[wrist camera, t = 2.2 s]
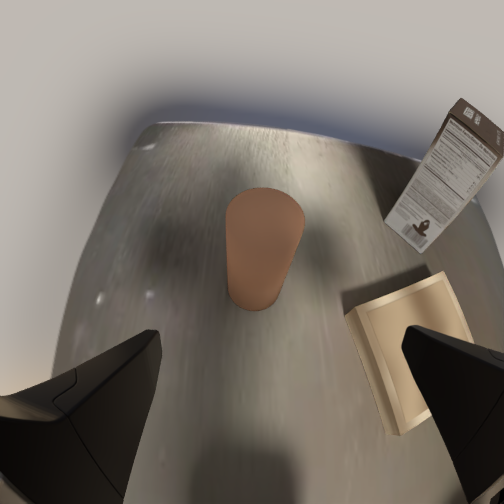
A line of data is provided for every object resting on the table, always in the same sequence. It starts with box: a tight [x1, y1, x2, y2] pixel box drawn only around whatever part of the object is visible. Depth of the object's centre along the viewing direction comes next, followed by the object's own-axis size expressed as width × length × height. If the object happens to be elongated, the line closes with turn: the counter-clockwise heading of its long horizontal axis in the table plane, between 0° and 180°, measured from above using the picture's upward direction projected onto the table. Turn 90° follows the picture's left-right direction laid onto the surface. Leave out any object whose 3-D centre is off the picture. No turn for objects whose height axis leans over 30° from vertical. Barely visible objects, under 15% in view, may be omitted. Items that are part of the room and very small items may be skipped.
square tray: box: [344, 271, 474, 436], centre depth 21 cm, size 12×12×2 cm
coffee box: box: [384, 98, 504, 254], centre depth 23 cm, size 9×6×16 cm
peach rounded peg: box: [226, 188, 305, 311], centre depth 20 cm, size 5×5×10 cm
